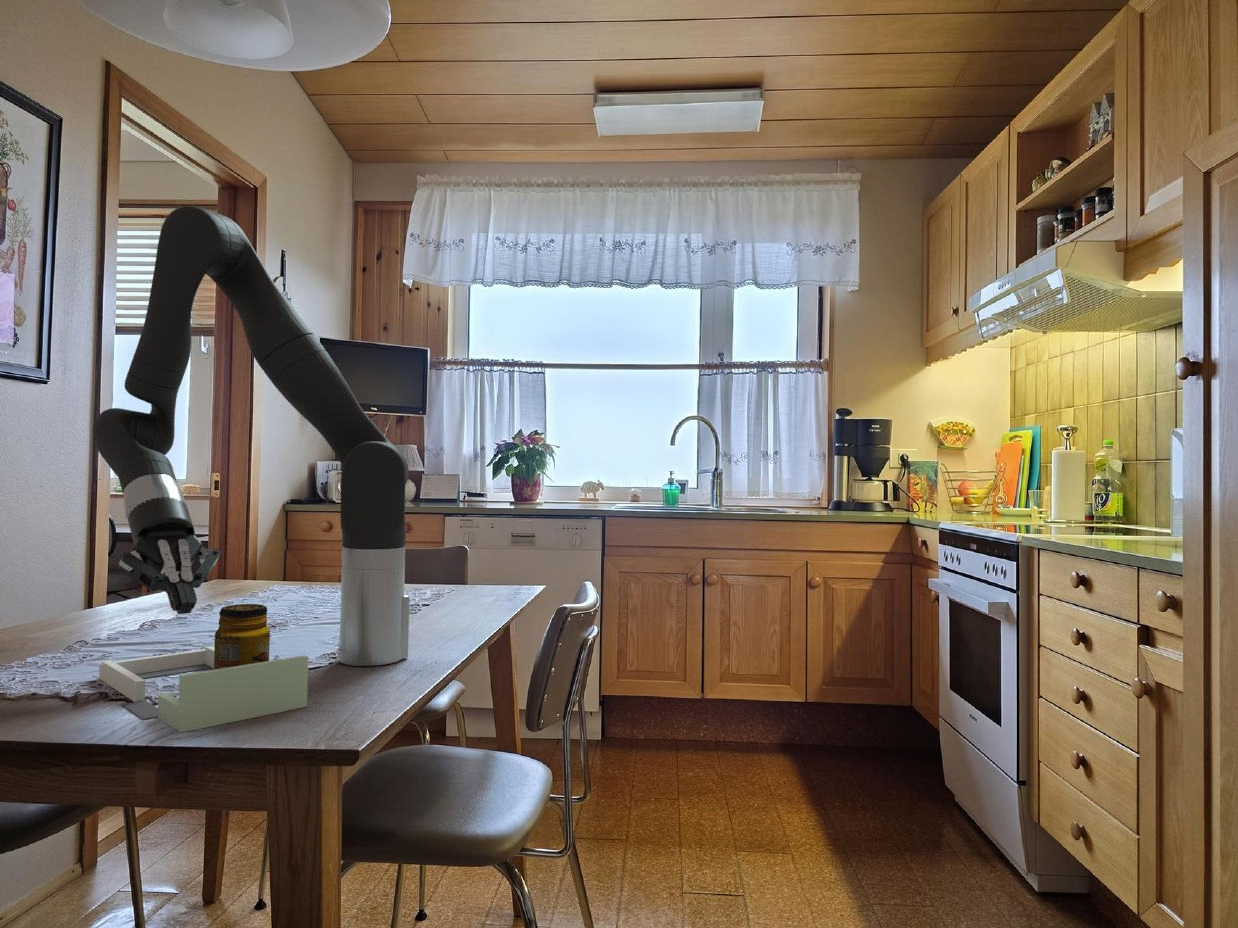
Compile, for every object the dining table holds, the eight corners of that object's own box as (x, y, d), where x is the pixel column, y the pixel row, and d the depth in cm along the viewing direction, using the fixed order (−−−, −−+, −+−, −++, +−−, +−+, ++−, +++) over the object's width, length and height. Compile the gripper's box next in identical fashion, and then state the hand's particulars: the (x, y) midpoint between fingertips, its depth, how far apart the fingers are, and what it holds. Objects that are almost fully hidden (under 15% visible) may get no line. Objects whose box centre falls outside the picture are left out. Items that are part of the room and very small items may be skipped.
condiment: (283, 703, 96) (286, 605, 96) (220, 721, 88) (223, 615, 89) (244, 694, 99) (247, 600, 100) (180, 711, 92) (183, 609, 92)
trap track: (209, 662, 115) (210, 621, 116) (306, 706, 95) (308, 656, 95) (85, 680, 104) (87, 635, 104) (165, 735, 83) (167, 679, 83)
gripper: (110, 495, 105) (137, 597, 97) (214, 495, 115) (246, 587, 106) (97, 532, 109) (122, 633, 100) (199, 529, 118) (229, 621, 110)
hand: (186, 609), depth 103 cm, fingers closed
